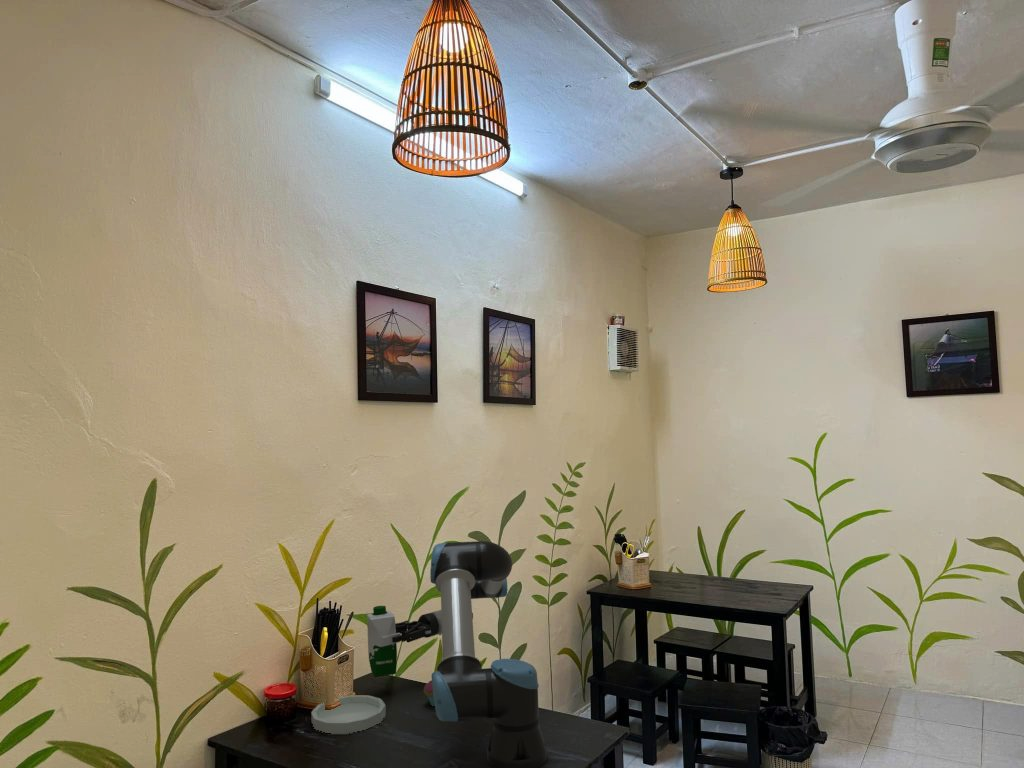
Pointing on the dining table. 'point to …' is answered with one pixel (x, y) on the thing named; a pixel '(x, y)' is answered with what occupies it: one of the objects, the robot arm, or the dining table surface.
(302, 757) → the dining table surface
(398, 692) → the dining table surface
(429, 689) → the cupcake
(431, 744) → the dining table surface
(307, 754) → the dining table surface
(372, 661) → the soya milk
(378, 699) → the round tray
